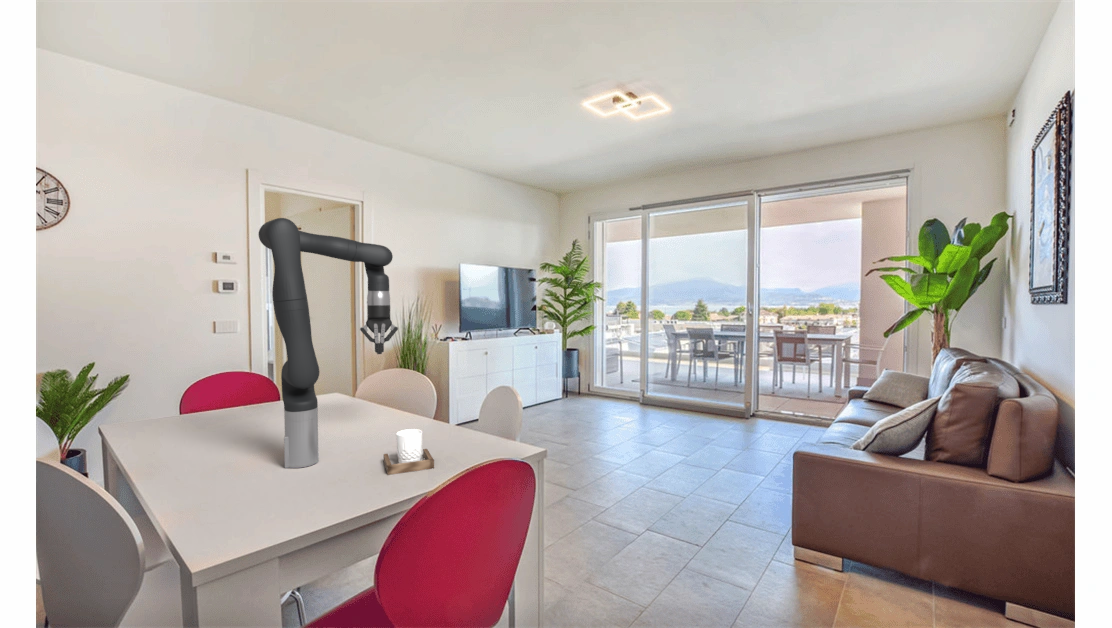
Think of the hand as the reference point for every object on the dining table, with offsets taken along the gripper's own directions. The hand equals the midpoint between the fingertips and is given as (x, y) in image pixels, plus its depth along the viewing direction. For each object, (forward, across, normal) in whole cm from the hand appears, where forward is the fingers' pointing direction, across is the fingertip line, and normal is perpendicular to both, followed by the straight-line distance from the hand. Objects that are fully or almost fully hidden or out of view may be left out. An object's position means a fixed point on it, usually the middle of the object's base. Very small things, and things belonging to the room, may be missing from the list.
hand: (379, 353), depth 172 cm
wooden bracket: (+32, +6, -24) cm, 41 cm away
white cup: (+32, +6, -24) cm, 41 cm away
